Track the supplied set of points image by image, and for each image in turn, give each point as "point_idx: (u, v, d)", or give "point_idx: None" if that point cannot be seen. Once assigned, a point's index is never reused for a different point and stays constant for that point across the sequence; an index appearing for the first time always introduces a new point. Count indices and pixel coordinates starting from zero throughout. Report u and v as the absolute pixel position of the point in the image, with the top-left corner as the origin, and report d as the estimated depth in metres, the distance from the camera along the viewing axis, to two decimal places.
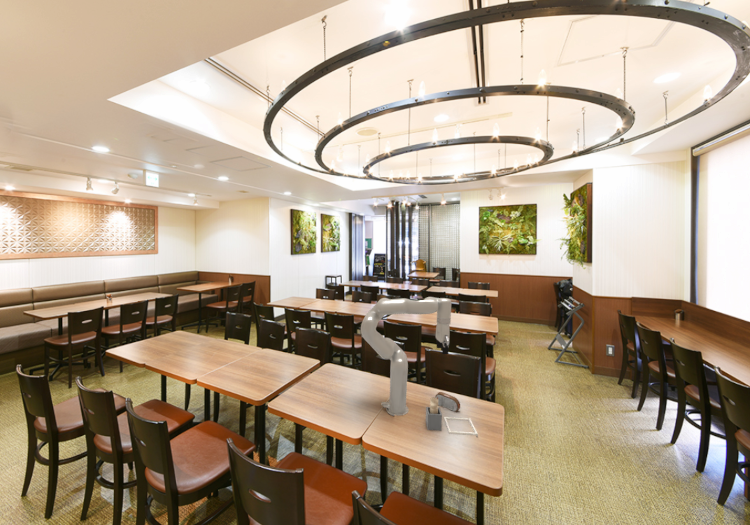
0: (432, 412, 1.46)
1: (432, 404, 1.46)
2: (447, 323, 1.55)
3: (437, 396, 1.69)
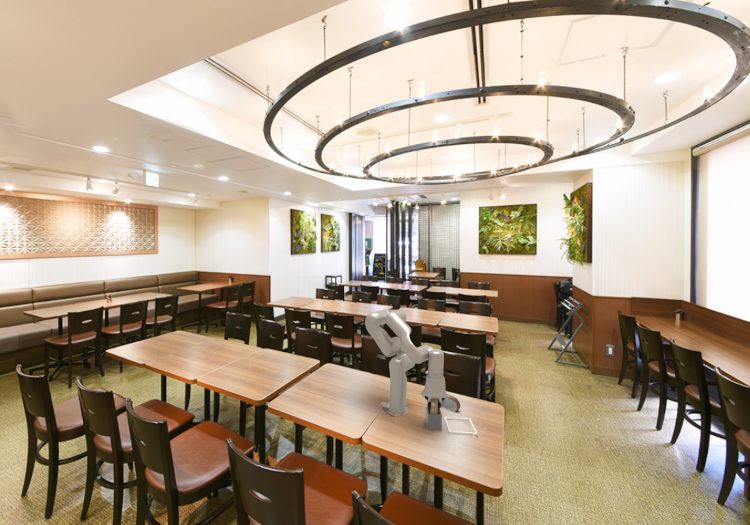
0: (432, 412, 1.46)
1: (432, 404, 1.46)
2: None
3: None
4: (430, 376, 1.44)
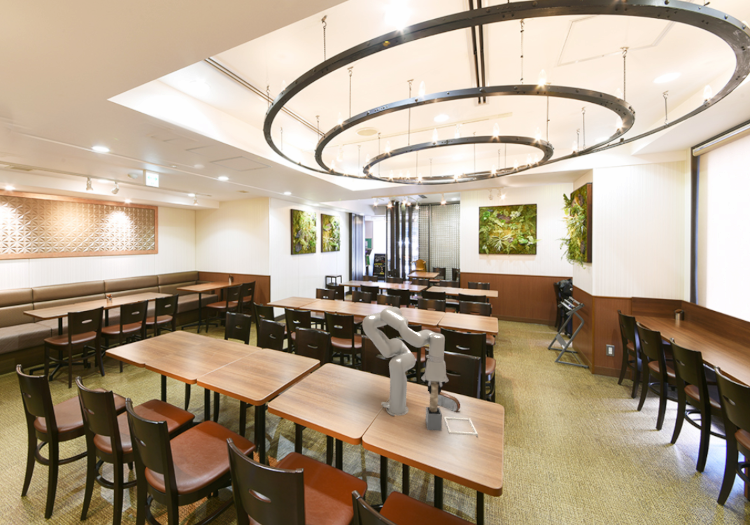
0: (432, 396, 1.46)
1: (432, 388, 1.45)
2: None
3: None
4: (431, 360, 1.44)
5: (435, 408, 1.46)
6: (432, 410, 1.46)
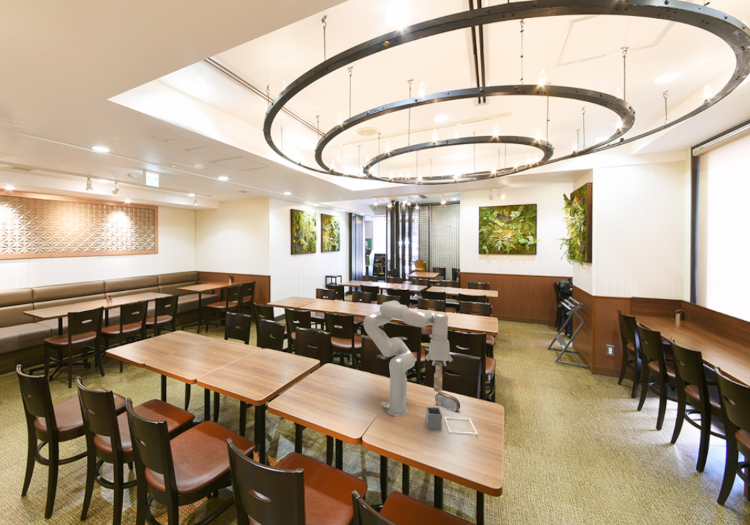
0: (436, 375, 1.45)
1: (436, 367, 1.45)
2: None
3: (437, 396, 1.69)
4: (434, 339, 1.44)
5: (439, 388, 1.45)
6: (436, 390, 1.45)
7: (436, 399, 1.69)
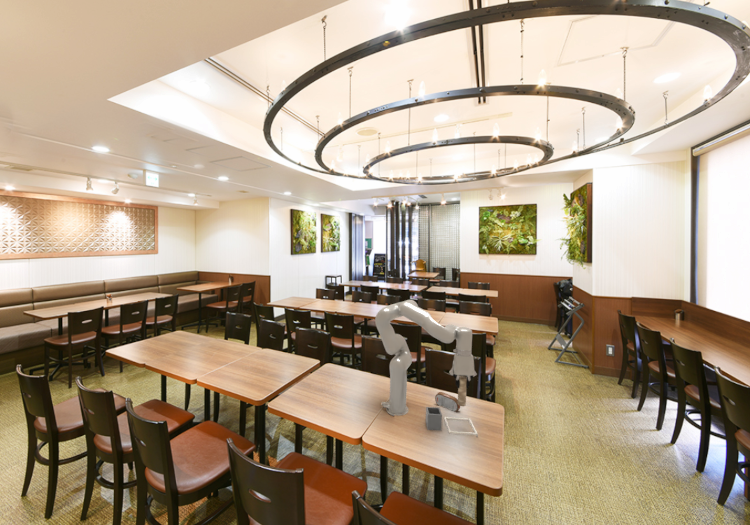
0: (461, 390, 1.46)
1: (461, 382, 1.45)
2: None
3: (437, 396, 1.69)
4: (459, 354, 1.44)
5: (464, 402, 1.46)
6: (461, 404, 1.46)
7: (436, 399, 1.69)
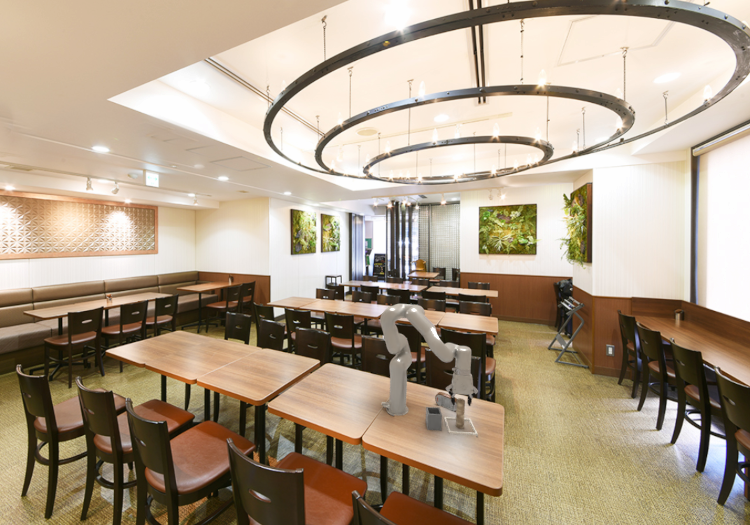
0: (459, 413, 1.46)
1: (459, 405, 1.46)
2: None
3: (437, 396, 1.69)
4: (458, 373, 1.45)
5: (462, 425, 1.46)
6: (459, 427, 1.46)
7: (436, 399, 1.69)
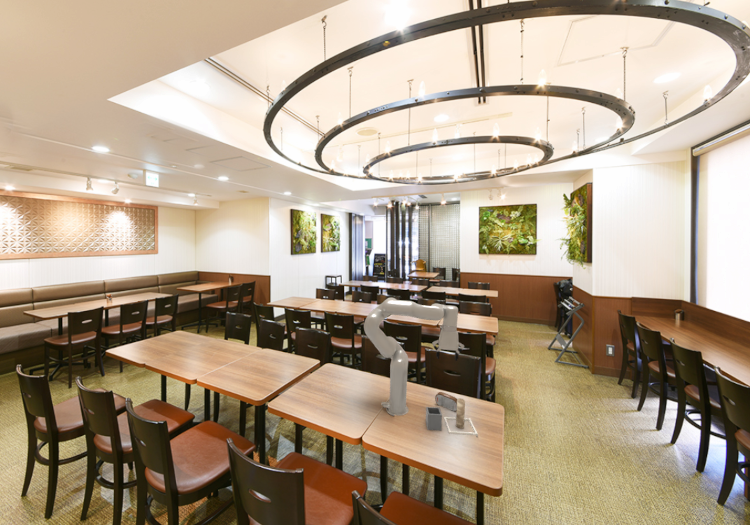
0: (459, 413, 1.46)
1: (459, 405, 1.46)
2: None
3: (437, 396, 1.69)
4: (444, 329, 1.54)
5: (462, 425, 1.46)
6: (459, 427, 1.46)
7: (436, 399, 1.69)
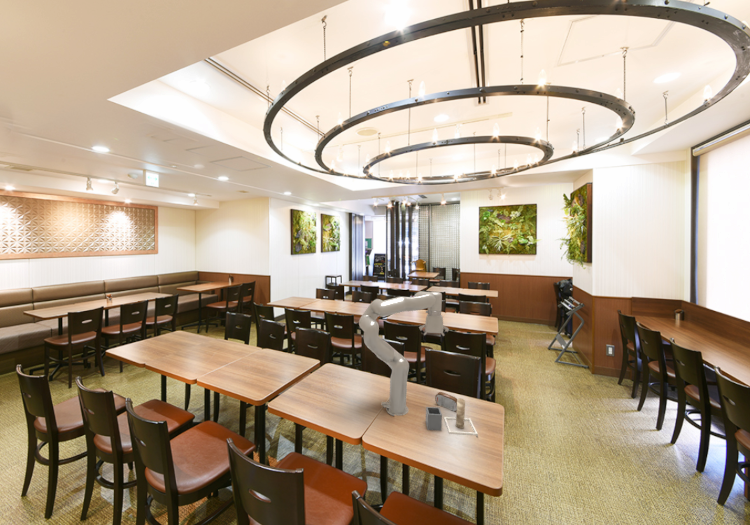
0: (459, 413, 1.46)
1: (459, 405, 1.46)
2: None
3: (437, 396, 1.69)
4: (430, 314, 1.65)
5: (462, 425, 1.46)
6: (459, 427, 1.46)
7: (436, 399, 1.69)
